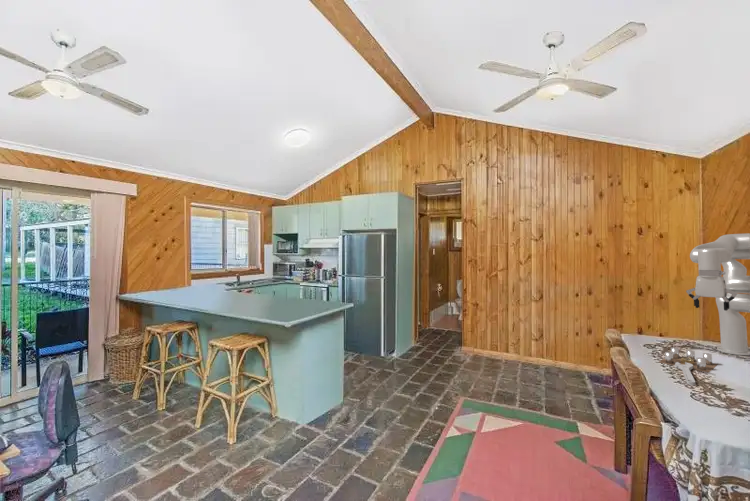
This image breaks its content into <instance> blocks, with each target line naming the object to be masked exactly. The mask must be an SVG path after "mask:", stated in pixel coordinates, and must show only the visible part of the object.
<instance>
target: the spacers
mask: <svg viewBox="0 0 750 501" xmlns="http://www.w3.org/2000/svg"><path fill="white" fill-rule="evenodd" d="M685 352H686V358H690V359H693V360H694V362H695V360H697V369H699V370H706V365H712V363H713V356H712V353H708V352H703V353H702V357H696V356H695V355H696V353H695V351H694V350H691V349H686V351H685ZM664 357H665V362H666V363H670V364H673V363H674V361H673V358H674V359H679V357H680V353H679V348H678V347H670V351H664ZM670 364H669V365H670ZM699 370H698V371H699Z"/></svg>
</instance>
